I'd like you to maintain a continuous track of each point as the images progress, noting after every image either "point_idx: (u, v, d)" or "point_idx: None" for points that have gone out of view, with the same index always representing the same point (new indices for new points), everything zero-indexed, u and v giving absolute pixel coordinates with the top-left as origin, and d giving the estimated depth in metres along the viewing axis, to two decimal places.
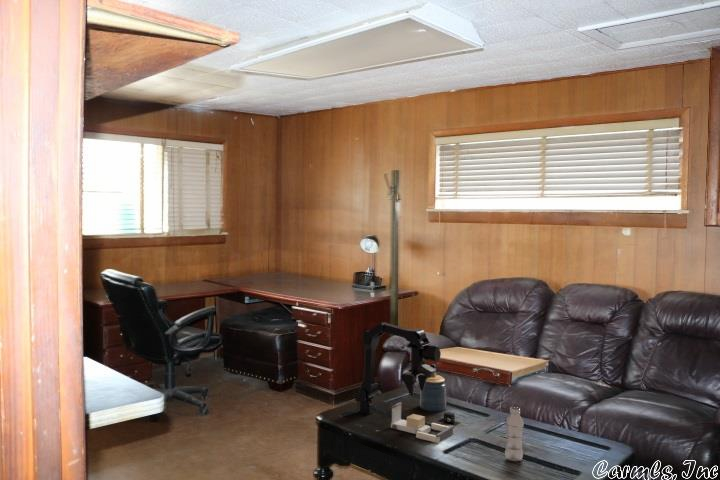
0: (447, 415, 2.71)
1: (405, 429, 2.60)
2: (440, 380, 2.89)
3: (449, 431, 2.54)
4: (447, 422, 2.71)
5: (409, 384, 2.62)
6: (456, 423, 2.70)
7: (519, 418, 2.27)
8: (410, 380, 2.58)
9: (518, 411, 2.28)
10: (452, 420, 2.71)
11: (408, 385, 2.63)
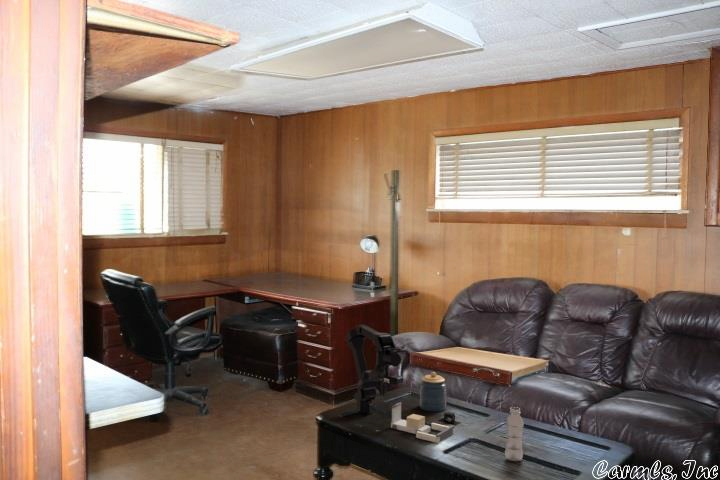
0: (447, 415, 2.72)
1: (405, 429, 2.60)
2: (440, 380, 2.89)
3: (449, 431, 2.54)
4: (447, 422, 2.71)
5: None
6: (456, 423, 2.71)
7: (519, 418, 2.27)
8: None
9: (518, 411, 2.28)
10: (452, 420, 2.71)
11: None
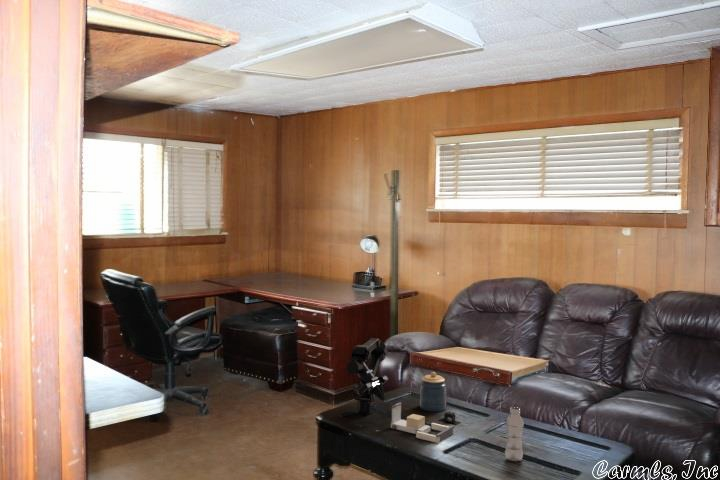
0: (448, 415, 2.72)
1: (405, 429, 2.60)
2: (440, 380, 2.89)
3: (449, 431, 2.54)
4: (448, 422, 2.71)
5: None
6: (457, 423, 2.71)
7: (519, 418, 2.27)
8: None
9: (518, 411, 2.28)
10: (453, 420, 2.71)
11: None
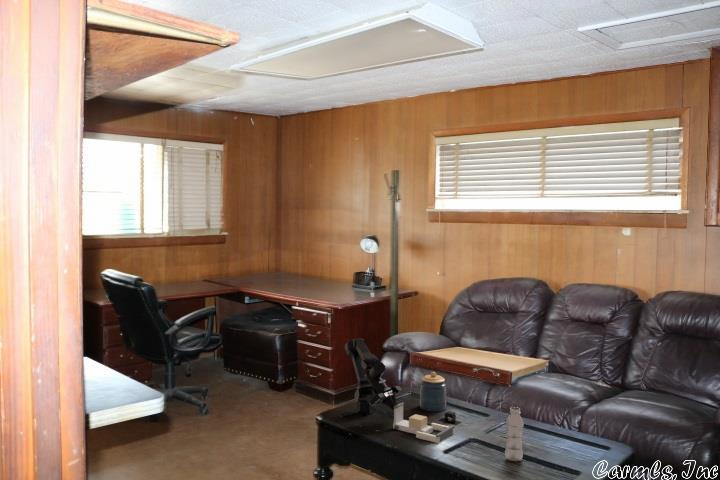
0: (448, 414, 2.72)
1: (407, 429, 2.59)
2: (440, 380, 2.89)
3: (449, 431, 2.54)
4: (448, 421, 2.72)
5: None
6: (457, 422, 2.71)
7: (519, 418, 2.27)
8: None
9: (518, 411, 2.28)
10: (453, 419, 2.72)
11: None
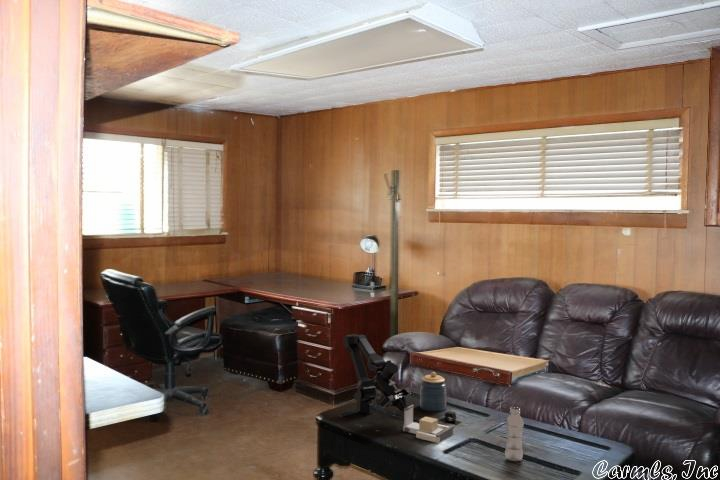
0: (448, 414, 2.73)
1: None
2: (440, 380, 2.89)
3: (449, 431, 2.54)
4: (448, 421, 2.72)
5: None
6: (457, 422, 2.71)
7: (519, 418, 2.27)
8: None
9: (518, 411, 2.28)
10: (453, 419, 2.72)
11: None
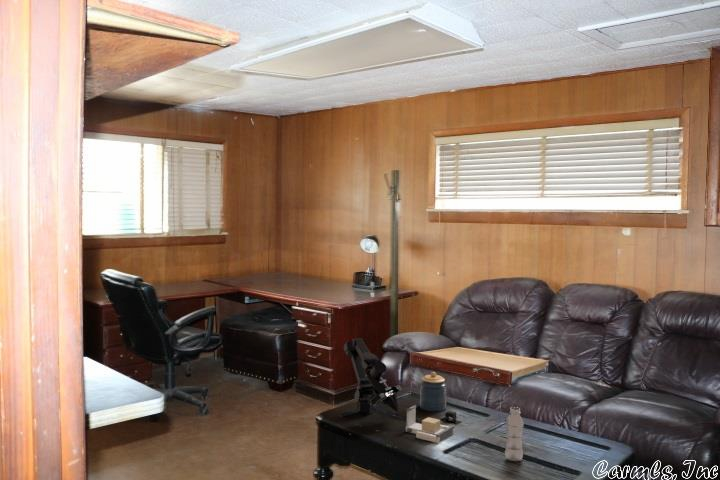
0: (449, 414, 2.73)
1: None
2: (440, 380, 2.89)
3: (449, 431, 2.54)
4: (449, 421, 2.72)
5: None
6: (458, 422, 2.72)
7: (519, 418, 2.27)
8: None
9: (518, 411, 2.28)
10: (454, 419, 2.72)
11: None
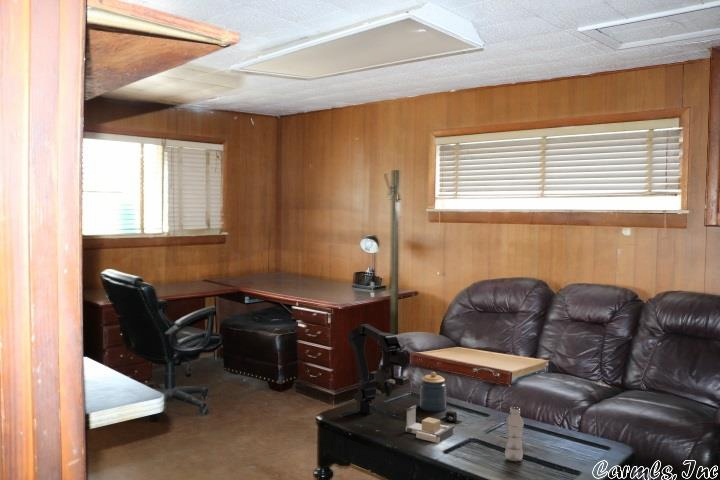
0: (449, 414, 2.73)
1: None
2: (440, 380, 2.89)
3: (449, 431, 2.54)
4: (449, 421, 2.73)
5: None
6: (458, 422, 2.72)
7: (519, 418, 2.27)
8: None
9: (518, 411, 2.28)
10: (454, 419, 2.73)
11: None
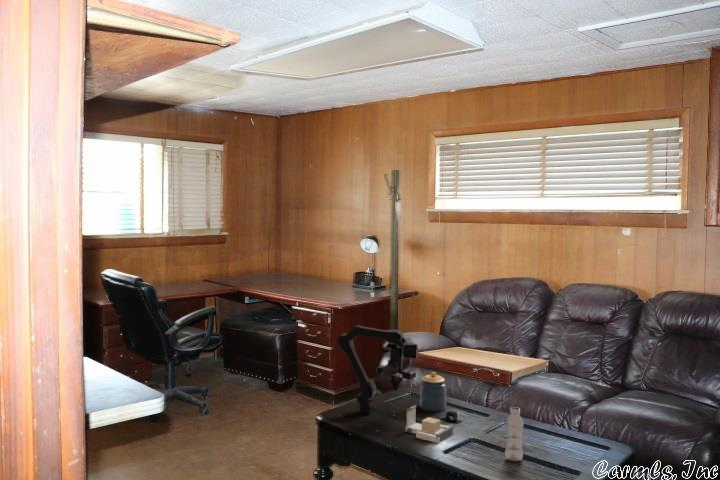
0: (450, 413, 2.74)
1: None
2: (440, 380, 2.89)
3: (449, 431, 2.54)
4: (450, 420, 2.73)
5: None
6: (458, 421, 2.73)
7: (519, 418, 2.27)
8: None
9: (518, 411, 2.28)
10: (454, 418, 2.73)
11: None
